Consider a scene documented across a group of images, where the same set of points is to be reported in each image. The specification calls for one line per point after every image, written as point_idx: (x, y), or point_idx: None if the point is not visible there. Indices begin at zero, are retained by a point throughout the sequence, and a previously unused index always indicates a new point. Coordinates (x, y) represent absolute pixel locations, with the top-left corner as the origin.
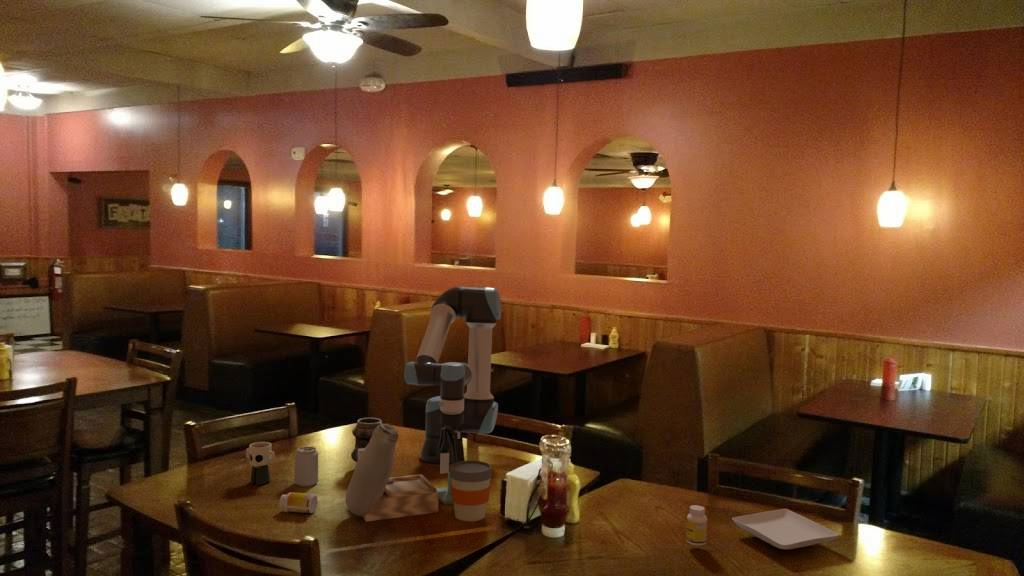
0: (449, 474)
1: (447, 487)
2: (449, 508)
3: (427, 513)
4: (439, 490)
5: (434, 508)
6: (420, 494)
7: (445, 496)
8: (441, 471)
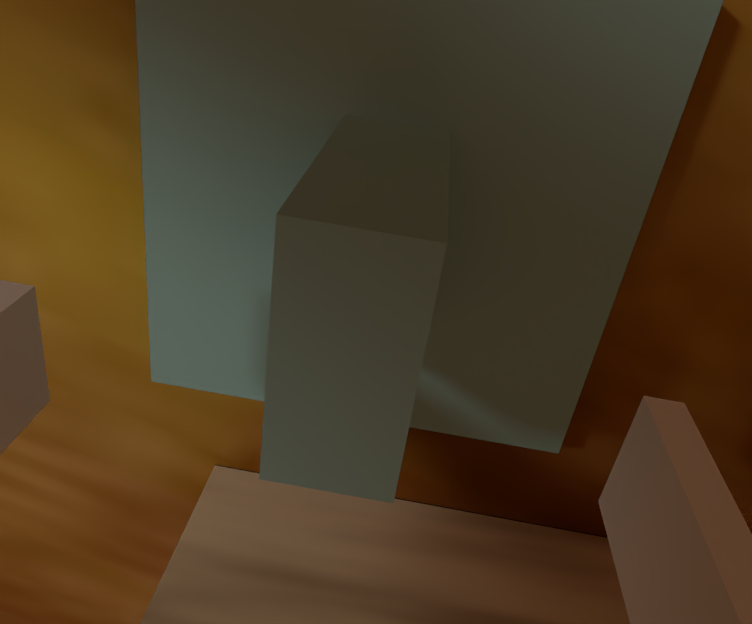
0: (344, 485)
1: (159, 224)
2: None
3: None
4: (228, 348)
5: None
6: None
7: (438, 385)
8: (27, 413)
